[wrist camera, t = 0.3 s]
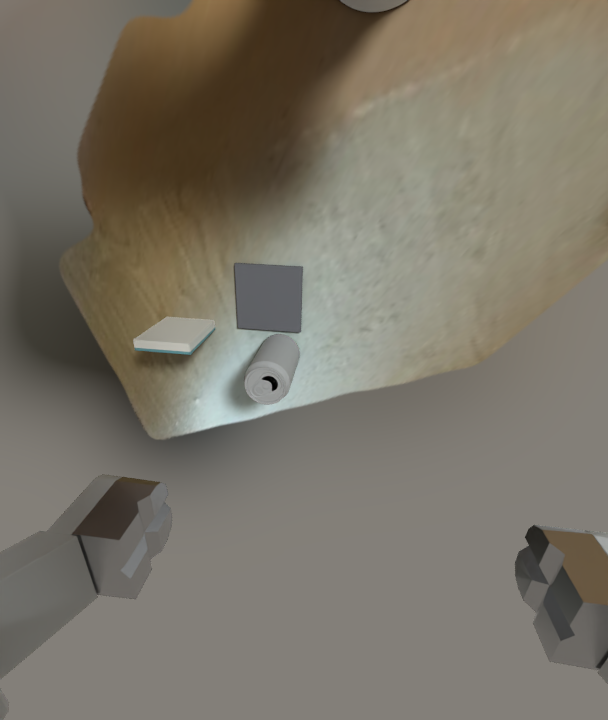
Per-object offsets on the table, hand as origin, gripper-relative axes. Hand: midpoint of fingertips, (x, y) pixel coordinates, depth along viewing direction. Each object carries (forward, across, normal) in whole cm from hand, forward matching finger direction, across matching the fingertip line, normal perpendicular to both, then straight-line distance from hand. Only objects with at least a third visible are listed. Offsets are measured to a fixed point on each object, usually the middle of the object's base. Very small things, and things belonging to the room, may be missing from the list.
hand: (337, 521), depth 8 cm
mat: (+47, +12, +8) cm, 49 cm away
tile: (+47, +24, +13) cm, 54 cm away
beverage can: (+47, +10, +17) cm, 51 cm away
